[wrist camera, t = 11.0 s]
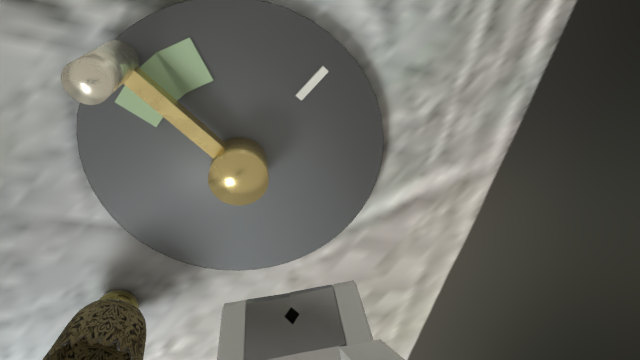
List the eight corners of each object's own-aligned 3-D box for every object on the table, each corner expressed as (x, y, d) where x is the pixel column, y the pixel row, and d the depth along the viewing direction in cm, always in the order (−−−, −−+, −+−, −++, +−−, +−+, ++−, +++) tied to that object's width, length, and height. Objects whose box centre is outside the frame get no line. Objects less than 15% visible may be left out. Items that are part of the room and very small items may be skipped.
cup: (87, 263, 35) (46, 337, 28) (169, 282, 38) (149, 354, 31) (72, 317, 38) (32, 396, 31) (149, 331, 40) (127, 407, 34)
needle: (278, 162, 31) (283, 202, 26) (240, 194, 32) (238, 239, 27) (125, 21, 25) (90, 37, 20) (83, 67, 26) (40, 94, 21)
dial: (259, 299, 40) (259, 306, 40) (20, 171, 30) (14, 178, 29) (434, 141, 34) (439, 145, 33) (208, -94, 23) (206, -96, 22)
